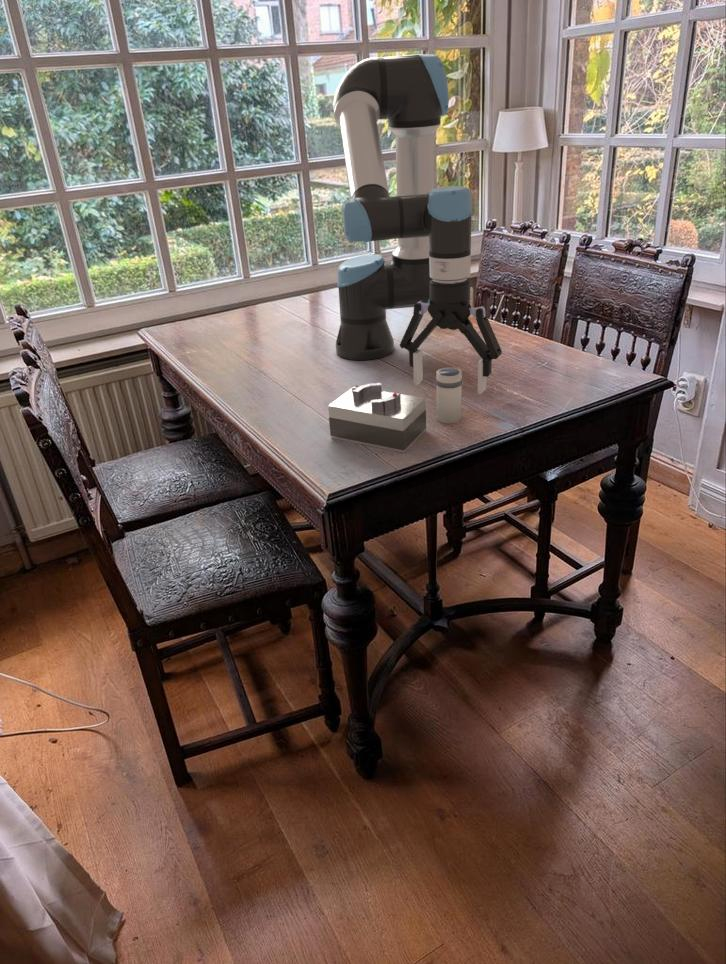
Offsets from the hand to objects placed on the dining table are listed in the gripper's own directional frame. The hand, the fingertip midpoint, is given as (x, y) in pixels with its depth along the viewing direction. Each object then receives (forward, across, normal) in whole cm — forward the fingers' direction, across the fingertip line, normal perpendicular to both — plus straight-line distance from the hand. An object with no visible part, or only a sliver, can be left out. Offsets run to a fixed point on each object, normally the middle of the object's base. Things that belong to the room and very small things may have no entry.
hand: (449, 386), depth 136 cm
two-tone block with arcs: (+7, -10, -12) cm, 17 cm away
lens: (+7, 0, 0) cm, 7 cm away
